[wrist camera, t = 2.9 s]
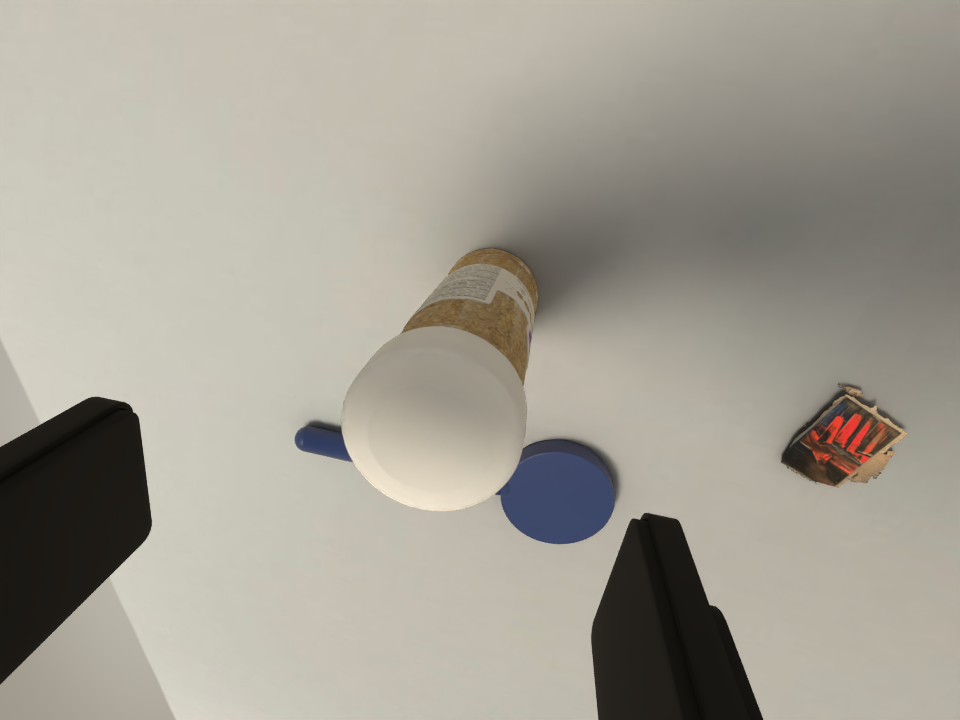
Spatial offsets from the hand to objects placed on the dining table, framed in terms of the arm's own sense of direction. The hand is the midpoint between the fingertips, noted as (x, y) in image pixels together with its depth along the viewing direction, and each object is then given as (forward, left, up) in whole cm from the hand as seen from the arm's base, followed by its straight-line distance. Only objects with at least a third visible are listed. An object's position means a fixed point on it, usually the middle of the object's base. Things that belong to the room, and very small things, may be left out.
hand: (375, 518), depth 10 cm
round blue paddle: (+7, +7, -16) cm, 19 cm away
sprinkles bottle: (0, 0, -17) cm, 16 cm away
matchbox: (-10, +16, -16) cm, 25 cm away
